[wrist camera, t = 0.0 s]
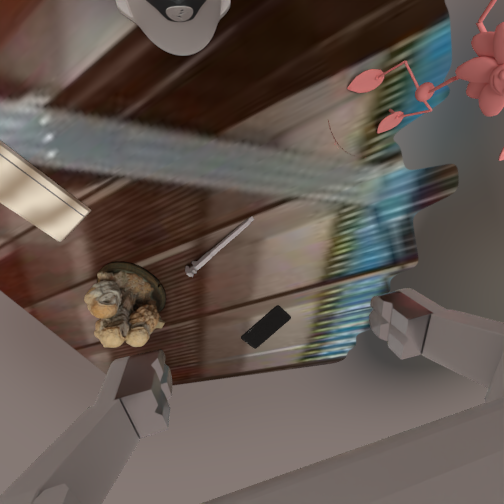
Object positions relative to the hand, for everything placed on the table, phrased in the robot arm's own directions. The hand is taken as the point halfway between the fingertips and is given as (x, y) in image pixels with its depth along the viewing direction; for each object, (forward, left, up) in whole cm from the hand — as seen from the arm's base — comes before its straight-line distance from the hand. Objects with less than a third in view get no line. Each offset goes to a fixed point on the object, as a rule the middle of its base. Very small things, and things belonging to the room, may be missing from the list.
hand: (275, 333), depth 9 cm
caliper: (+13, 0, -48) cm, 50 cm away
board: (-6, -35, -48) cm, 60 cm away
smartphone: (+42, +9, -49) cm, 65 cm away
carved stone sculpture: (+21, -22, -48) cm, 57 cm away
